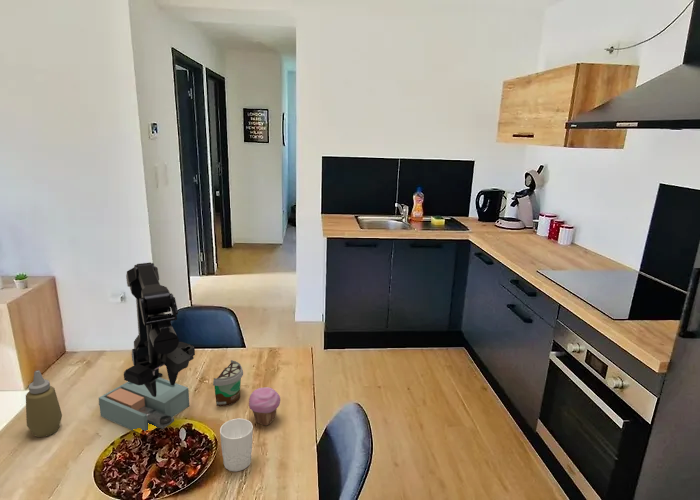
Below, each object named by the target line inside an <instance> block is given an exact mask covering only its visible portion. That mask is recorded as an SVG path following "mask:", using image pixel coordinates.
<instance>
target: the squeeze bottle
mask: <svg viewBox="0 0 700 500" xmlns="http://www.w3.org/2000/svg"><path fill="white" fill-rule="evenodd" d="M33 373H34V374H33V381H32V382H30V383H29V385H28V392H27V393H26V394H25V410H26V411H25V413H26V414H25V415H26V416H25V417H26V419H25V420H26V426H27V428H28V429H29V431H30V432H31V433H32V435H33V436H34V437H35V438H36V437H37V438H42V437H47V436H51V435H52V434H55V432H57V431H58V430H59V428H60V425H61V421H62V418H63V414H62V410H61V407H60V403H59V400H58V396H57V393H56V390H55V387H54V386H51V384H50V380H48V379H45V378H44V377H43V375H42V372H41V370H39V369H38V370H34V372H33Z"/></svg>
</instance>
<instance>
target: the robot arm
mask: <svg viewBox="0 0 700 500" xmlns="http://www.w3.org/2000/svg"><path fill="white" fill-rule="evenodd" d="M125 276H126V286H127V287H129V289H130V294H131V295H132V296H133V297H134V298H135V302H136V315H137V316H136V317H137V331H138V334H137V336H136V337H135V339H134V341H133V348H131V361H132V364H133V365H132V366H131V367H129V368H127V369H125V370H124V372H123V380H124V381H126V382H131V383H133V384H136V385H143V384H144V385H145V386H146V388H147V389H148V391H149V392H150V393H151V395H152V396H153V397H156V393H157V390H156V380H157V379H158V378H159V377H160V378H162V377H163V376H164V374H163V373H160V368H161V367H163V366H165V367H166V371H167V373H166V374H167V376H168V381H170V384H171V385H173V386H174V385H175V383H177V379H178V375H179V373H180V372H182V370H184V369H186V368H188V367H189V364H190V362H191V361H192V360H194V358H195V357H194V356H195V354H196V351H195V350H196V349H195V347H194V345H192V344H190V343H187V342H184V341H179V340H180V339H179V337H178V335H177V333H176V331H175V329H174V327H173V326H172V321H176V320H178V316H177V315H178V313H179V310H178V306H177V301H176V297H174V294H173V293H171V292H170V290H169V289H168V287H167V286H165V285H161V284H160V282H159V281H160V275H159V269H158V267H157V266H155V264H154V262H143V263H137V264H134V266H133V267H132V268H130V269H128V270H127V271H126V275H125ZM170 312H171V313H170Z"/></svg>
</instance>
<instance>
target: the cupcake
mask: <svg viewBox="0 0 700 500" xmlns="http://www.w3.org/2000/svg"><path fill="white" fill-rule="evenodd" d="M280 403H281V395H279V393H278V392H277V391H276V390H275V389H273V388H272V387H267V386H266V387H265V386H264V387H258V388H256V389H254V390H253V391H252V393H251V394H250V396H249V398H248V407H249V409H250V410H251V412H252V414H253V417H254V419H255V422H256V423H258V424H260V425H262V426H265V427H267V426H269V425H270V424H271V423H272V422H273V420H275V419H276V417H277V409H278V408H279V406H280V405H281V404H280Z"/></svg>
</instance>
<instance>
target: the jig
mask: <svg viewBox="0 0 700 500" xmlns="http://www.w3.org/2000/svg"><path fill="white" fill-rule="evenodd" d="M119 388H121V389H124V390H126V391H129V392H131V393H134V394H136V395H139V396H141V397H144V400H145V406H146V407H148V408H151V409H155V410H156V411H158V412H161V413H163V414H166V415H168V416H171V417H173V418H175V416H177V415H178V414H180V413H181V412H183V411H184V410H185V409H187V408H188V407H189V406H190V393H189V391H190V390H189V387H188V386H185V385H181V384H180V383H177V382H175V385H174V386H173V385H171V384H170V381H169V379H166V378H163V377H159V378H158V379H157V380H156V390H157V393H156V397H153V396H152V395H151V393H150V392H149V391H148V389H147V388H146V386H145V385H144V384H143V385H136V384H133V383H131V382H128V381H126V382H125V383H122V384H121V385H119V386H118V387H116V388H113V389H112V390H110V391H108V392H106V393H104V394H103V395H101V396H99V397H98V405H99V412H100V413H99V415H100V417H101V418H103V419H106V420H108V421H111V422H113V423H115V424H117V425H119V426H120V427H121V426H122V427H124V428H126V429H127V430H131V431H133V429H137V428H141V429H142V430H144V431H146V430H148V423H147V415H146V414H144V413H142V412H139V411H137V410H134V409H132V408H129V407H127V406H125V405H122V404H120V403H117V402H115V401H113V400H110V399H108V398H107V395H109V394H110V393H112V392H114V391H116V390H118V389H119Z"/></svg>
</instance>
